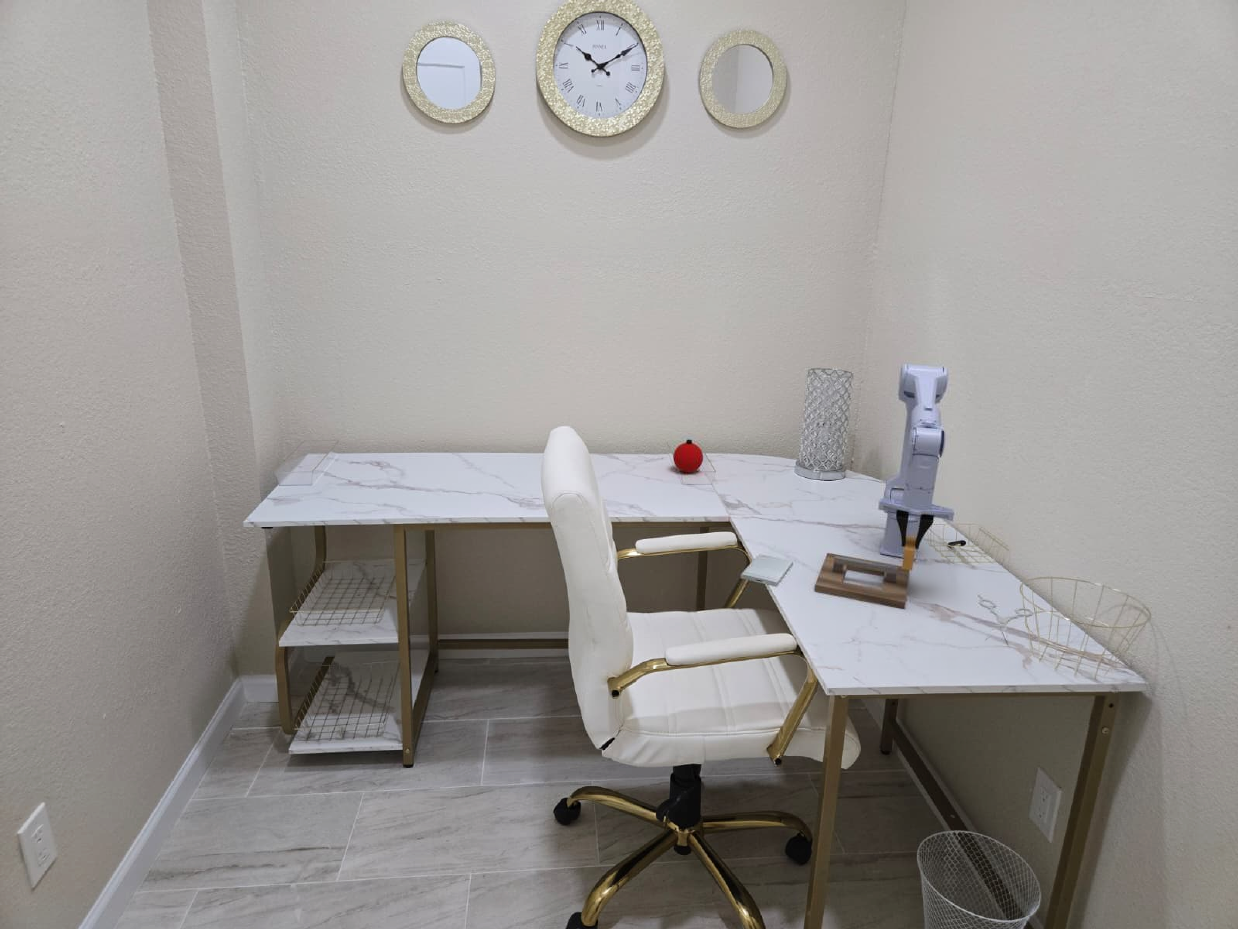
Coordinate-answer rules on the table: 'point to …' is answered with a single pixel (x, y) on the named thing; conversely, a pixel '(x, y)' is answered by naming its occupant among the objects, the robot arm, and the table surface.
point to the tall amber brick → (909, 553)
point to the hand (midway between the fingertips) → (909, 546)
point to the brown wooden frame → (884, 596)
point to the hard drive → (767, 570)
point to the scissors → (999, 618)
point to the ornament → (688, 457)
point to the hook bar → (865, 567)
